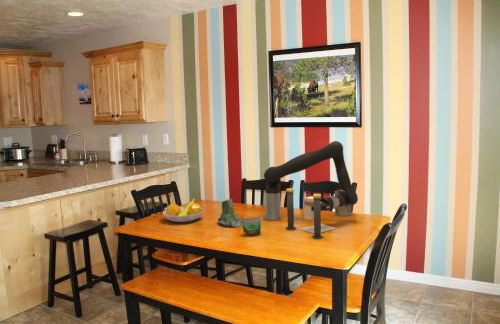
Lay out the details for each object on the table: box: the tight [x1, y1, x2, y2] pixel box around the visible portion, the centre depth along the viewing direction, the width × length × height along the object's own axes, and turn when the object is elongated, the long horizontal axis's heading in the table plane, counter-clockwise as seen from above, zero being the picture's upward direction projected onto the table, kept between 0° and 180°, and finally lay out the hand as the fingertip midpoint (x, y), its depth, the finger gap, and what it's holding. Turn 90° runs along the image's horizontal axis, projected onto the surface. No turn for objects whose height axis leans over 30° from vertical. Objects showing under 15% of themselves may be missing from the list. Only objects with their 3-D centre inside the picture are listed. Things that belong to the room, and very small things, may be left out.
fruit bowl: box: [162, 197, 205, 223], centre depth 271 cm, size 28×27×11 cm
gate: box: [285, 188, 324, 240], centre depth 232 cm, size 28×6×24 cm, turn 35°
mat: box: [301, 223, 337, 234], centre depth 240 cm, size 12×16×1 cm
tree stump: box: [217, 198, 243, 229], centre depth 257 cm, size 18×20×18 cm
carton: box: [303, 195, 314, 221], centre depth 235 cm, size 6×6×12 cm
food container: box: [241, 215, 263, 237], centre depth 232 cm, size 12×6×10 cm, turn 105°
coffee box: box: [334, 189, 352, 217], centre depth 270 cm, size 9×6×16 cm
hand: (308, 207), depth 234 cm, fingers closed on carton, 5 cm apart
